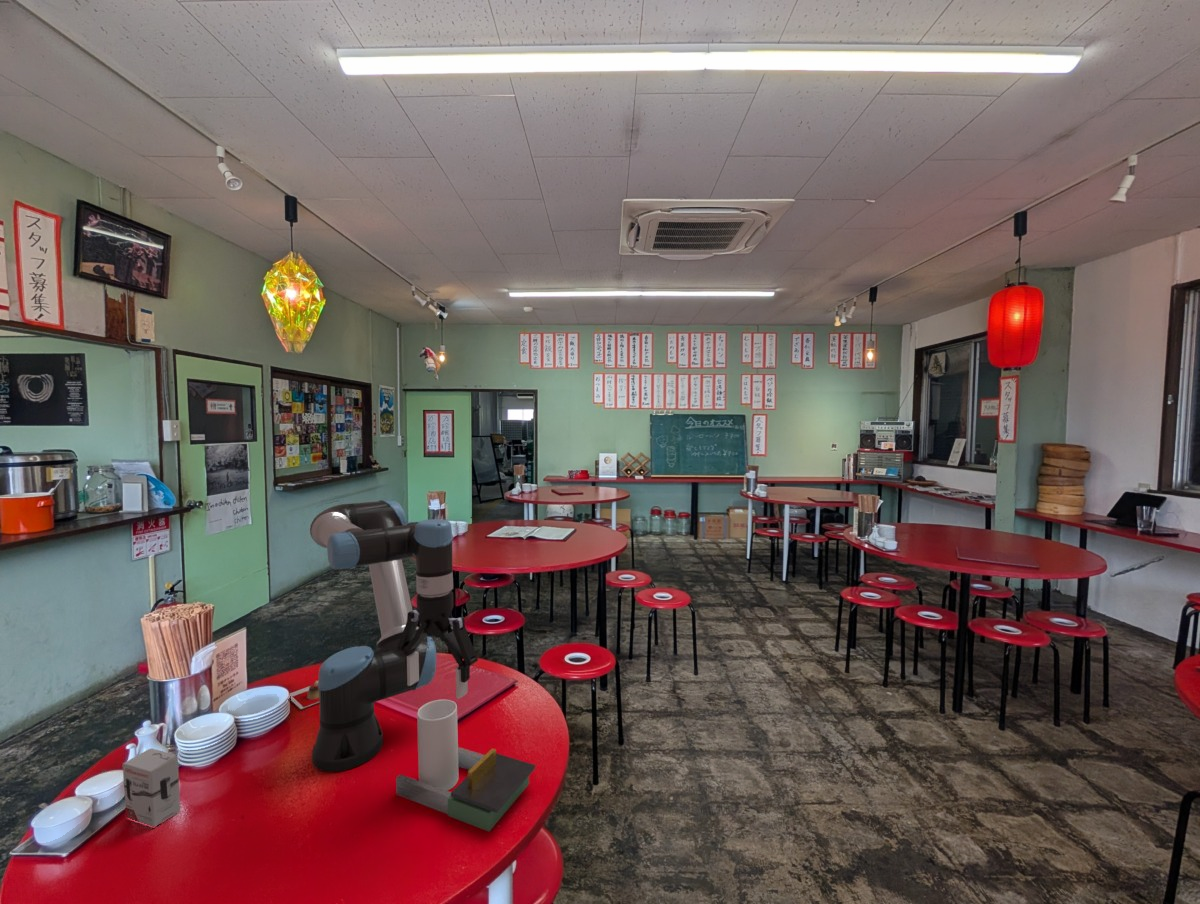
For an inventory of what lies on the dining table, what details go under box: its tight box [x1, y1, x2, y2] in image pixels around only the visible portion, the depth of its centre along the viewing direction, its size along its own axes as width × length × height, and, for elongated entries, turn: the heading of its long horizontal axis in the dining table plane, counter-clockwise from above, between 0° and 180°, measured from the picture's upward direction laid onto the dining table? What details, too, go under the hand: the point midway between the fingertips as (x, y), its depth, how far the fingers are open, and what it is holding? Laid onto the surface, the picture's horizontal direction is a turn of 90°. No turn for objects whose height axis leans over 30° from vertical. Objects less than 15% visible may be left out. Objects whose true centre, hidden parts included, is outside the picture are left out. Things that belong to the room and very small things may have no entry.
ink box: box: [122, 748, 181, 827], centre depth 99 cm, size 8×5×12 cm, turn 73°
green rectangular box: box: [447, 775, 530, 832], centre depth 102 cm, size 10×14×4 cm
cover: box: [450, 748, 536, 813], centre depth 102 cm, size 11×14×4 cm
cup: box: [416, 699, 460, 791], centre depth 108 cm, size 8×8×16 cm
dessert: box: [289, 680, 319, 710], centre depth 145 cm, size 12×12×5 cm
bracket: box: [395, 746, 486, 815], centre depth 107 cm, size 14×13×4 cm
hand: (437, 689), depth 107 cm, fingers open, 13 cm apart
